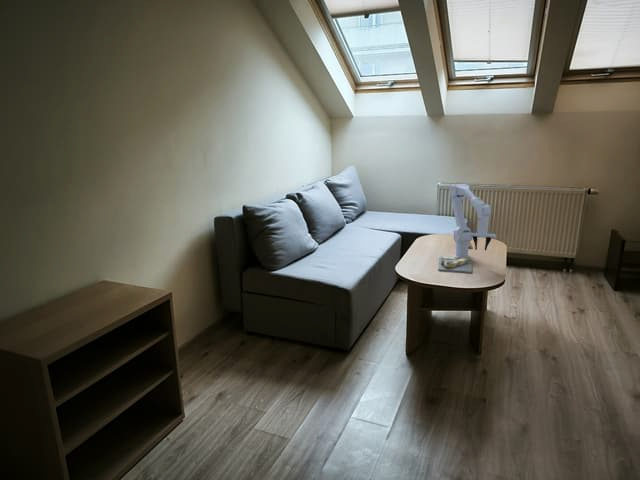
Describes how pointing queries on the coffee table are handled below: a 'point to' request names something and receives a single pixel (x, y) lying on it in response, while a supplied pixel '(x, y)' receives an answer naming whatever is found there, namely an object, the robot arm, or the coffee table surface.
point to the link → (456, 262)
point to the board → (456, 267)
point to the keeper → (445, 259)
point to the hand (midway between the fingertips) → (480, 249)
